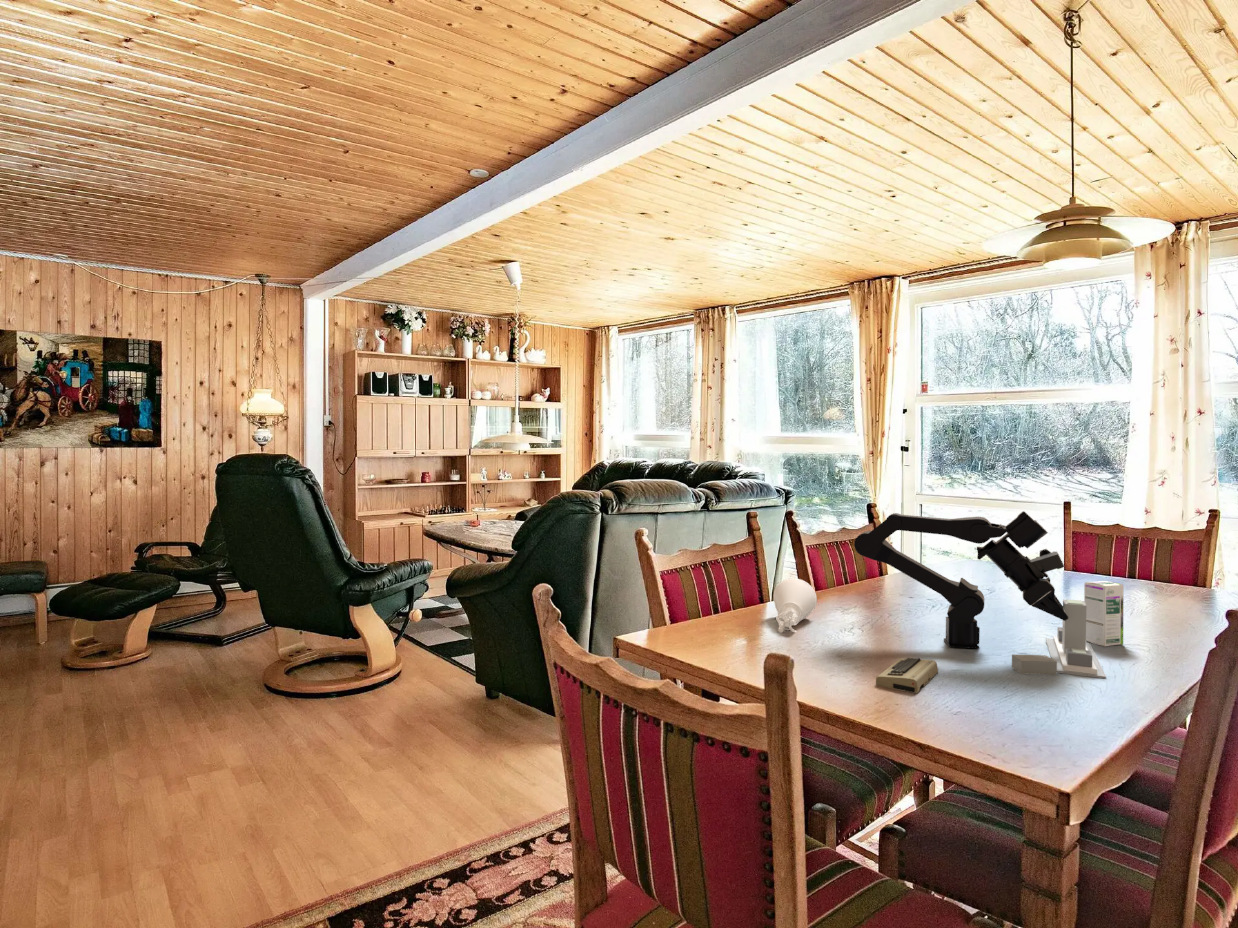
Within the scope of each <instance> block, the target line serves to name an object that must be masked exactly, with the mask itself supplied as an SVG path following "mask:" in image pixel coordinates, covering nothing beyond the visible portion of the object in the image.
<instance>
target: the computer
mask: <svg viewBox="0 0 1238 928" xmlns="http://www.w3.org/2000/svg"><path fill="white" fill-rule="evenodd" d="M937 674H939V668H938V662H937V661H935V660H933V659H923V658H922V659H921V658H919V657H917V658H913V657H907V658H899V659H898V660H897V661H895V662H894V663H893V664H891V666H889V667H888V668H887V669H885V670H884V671H882V673H880V674H879V675H878V676H877V677H876V678H875V683H876V685H877V686H878V687H883V688H888V689H893V690H899V691H905V692H909V693H913V694H918V693H919V692H920V691H921V689H920V688H921V687H922V688H924V687H925V686H927V684H929V683H930V682H931V680H932V678H934V677H935V676H936V675H937Z"/></svg>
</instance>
